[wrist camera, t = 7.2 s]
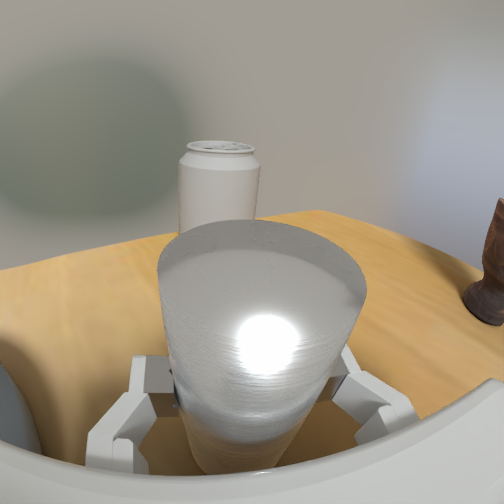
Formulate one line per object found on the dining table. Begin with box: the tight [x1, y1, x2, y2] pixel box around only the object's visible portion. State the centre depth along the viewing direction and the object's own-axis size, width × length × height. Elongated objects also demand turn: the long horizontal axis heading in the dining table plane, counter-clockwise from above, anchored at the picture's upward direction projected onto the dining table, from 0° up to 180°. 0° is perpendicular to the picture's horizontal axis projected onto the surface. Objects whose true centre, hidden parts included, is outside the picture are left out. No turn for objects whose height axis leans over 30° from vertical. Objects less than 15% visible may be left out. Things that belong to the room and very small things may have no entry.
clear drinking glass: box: [157, 219, 367, 475], centre depth 10 cm, size 5×5×12 cm
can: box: [179, 141, 261, 235], centre depth 27 cm, size 8×8×12 cm
